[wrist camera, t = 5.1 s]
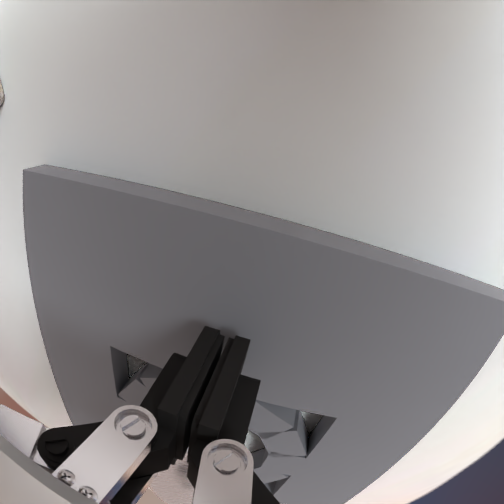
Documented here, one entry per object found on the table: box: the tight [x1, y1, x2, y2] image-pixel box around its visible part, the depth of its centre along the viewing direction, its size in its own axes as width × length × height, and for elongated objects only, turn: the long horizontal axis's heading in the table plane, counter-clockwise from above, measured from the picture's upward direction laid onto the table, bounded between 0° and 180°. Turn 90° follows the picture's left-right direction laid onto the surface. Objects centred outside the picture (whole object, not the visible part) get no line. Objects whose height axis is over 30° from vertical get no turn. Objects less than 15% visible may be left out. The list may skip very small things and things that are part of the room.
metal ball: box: [149, 444, 246, 504], centre depth 13 cm, size 6×6×6 cm
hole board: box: [23, 165, 504, 504], centre depth 14 cm, size 20×22×2 cm
